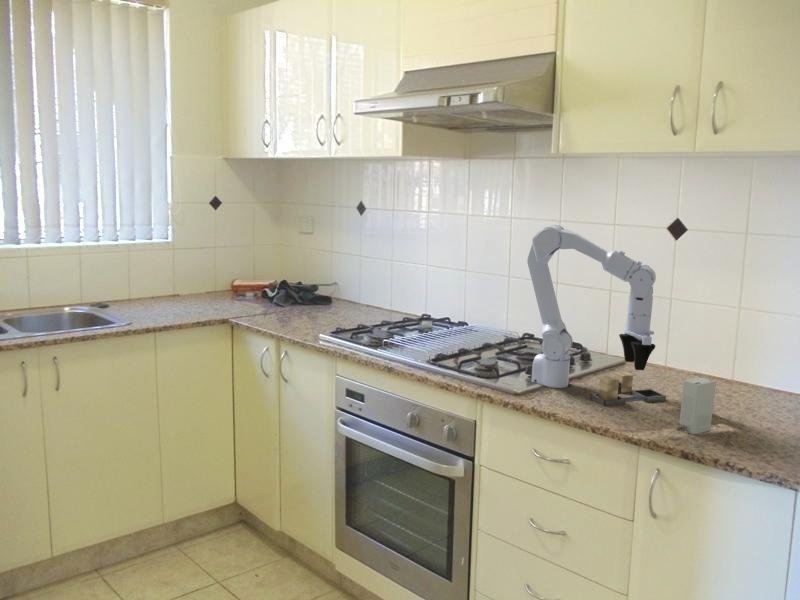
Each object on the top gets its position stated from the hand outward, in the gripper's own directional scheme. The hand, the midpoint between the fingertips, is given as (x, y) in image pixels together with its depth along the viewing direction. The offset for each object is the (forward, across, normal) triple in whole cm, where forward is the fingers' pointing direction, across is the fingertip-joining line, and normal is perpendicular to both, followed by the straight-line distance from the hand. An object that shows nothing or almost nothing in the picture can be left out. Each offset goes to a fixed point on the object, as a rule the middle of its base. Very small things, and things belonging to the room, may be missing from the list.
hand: (634, 365), depth 182 cm
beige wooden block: (+10, +4, +1) cm, 10 cm away
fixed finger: (+8, -5, +8) cm, 12 cm away
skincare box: (+10, -21, -8) cm, 24 cm away
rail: (+10, -3, +2) cm, 10 cm away
